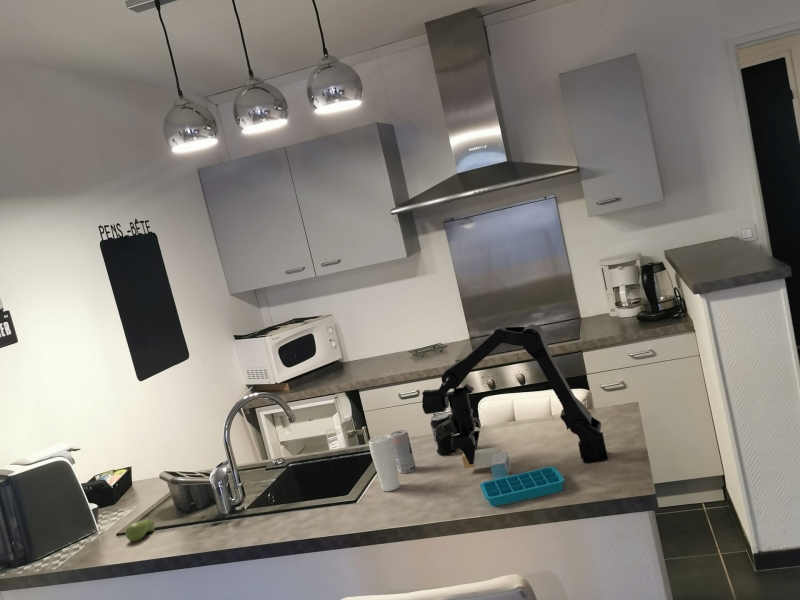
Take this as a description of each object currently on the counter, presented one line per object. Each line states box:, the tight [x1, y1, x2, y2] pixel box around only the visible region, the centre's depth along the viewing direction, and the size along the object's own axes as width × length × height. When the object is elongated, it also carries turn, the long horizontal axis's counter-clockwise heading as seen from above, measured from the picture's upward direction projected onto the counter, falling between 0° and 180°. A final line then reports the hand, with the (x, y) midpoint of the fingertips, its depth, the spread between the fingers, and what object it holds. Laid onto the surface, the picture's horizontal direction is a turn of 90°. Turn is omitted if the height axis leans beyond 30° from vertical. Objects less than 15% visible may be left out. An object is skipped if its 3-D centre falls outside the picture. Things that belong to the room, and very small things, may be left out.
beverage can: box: [430, 413, 458, 457], centre depth 224 cm, size 7×7×12 cm
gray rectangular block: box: [489, 450, 512, 480], centre depth 193 cm, size 4×9×6 cm, turn 167°
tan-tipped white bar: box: [461, 446, 501, 469], centre depth 202 cm, size 10×4×4 cm, turn 77°
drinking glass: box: [368, 434, 401, 492], centre depth 203 cm, size 7×7×15 cm
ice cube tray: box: [479, 466, 565, 507], centre depth 180 cm, size 12×20×3 cm, turn 92°
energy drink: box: [390, 429, 416, 475], centre depth 216 cm, size 5×5×12 cm
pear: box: [125, 519, 155, 542], centre depth 212 cm, size 6×5×10 cm
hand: (472, 461), depth 203 cm, fingers closed on tan-tipped white bar, 4 cm apart
